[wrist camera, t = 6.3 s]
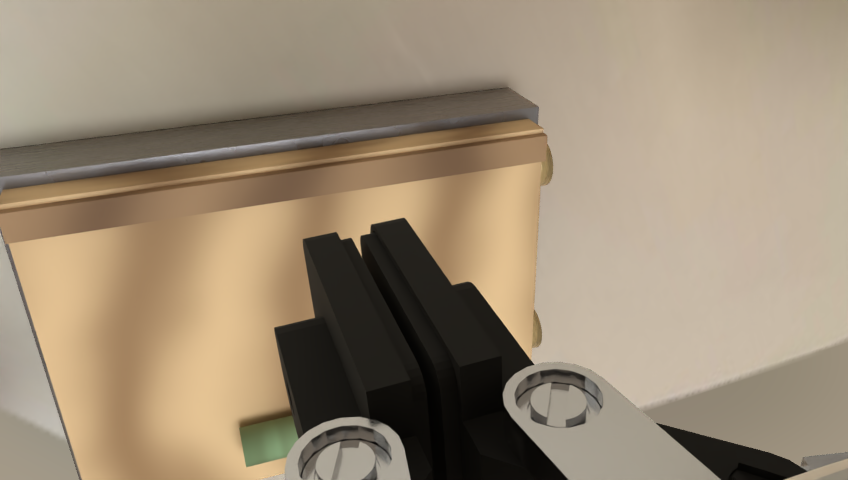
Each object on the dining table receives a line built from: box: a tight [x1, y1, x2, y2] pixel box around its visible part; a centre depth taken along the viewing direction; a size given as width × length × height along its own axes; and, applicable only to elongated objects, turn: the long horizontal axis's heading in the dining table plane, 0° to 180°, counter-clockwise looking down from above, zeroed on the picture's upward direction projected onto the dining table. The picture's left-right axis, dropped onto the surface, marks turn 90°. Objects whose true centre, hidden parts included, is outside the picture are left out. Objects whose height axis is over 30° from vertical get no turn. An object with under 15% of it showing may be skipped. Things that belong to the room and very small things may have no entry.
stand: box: [0, 88, 553, 480], centre depth 37 cm, size 24×17×3 cm
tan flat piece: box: [0, 119, 547, 480], centre depth 34 cm, size 22×16×4 cm
